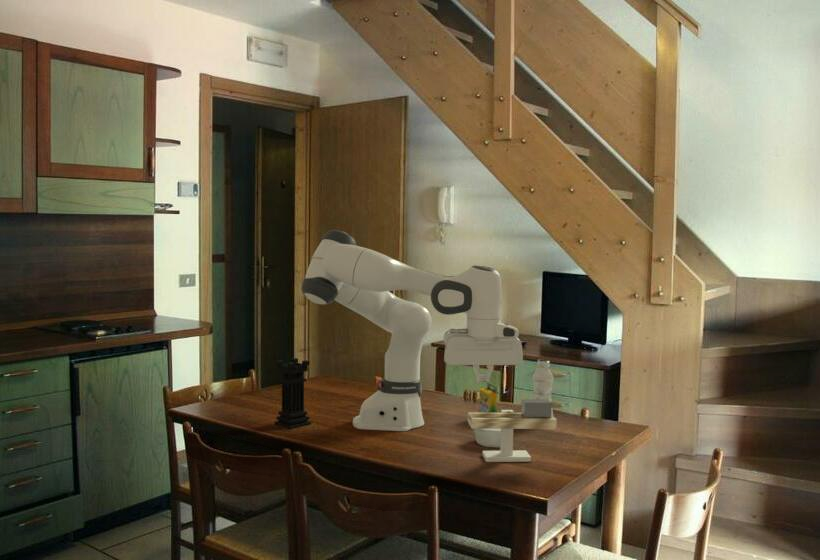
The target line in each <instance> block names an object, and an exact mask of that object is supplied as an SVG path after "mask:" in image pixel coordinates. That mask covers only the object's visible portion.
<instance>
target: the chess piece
mask: <svg viewBox="0 0 820 560" xmlns="http://www.w3.org/2000/svg"><path fill="white" fill-rule="evenodd" d="M310 362H311V361H310V360H301V362H299V358H297V357H292V358H290V362H287V363H285V361H284V360H281V359H279V360H276V366H278V367H277V369H278V372H279V373H280V372H281V378H280V379H279V381H280V382H281V410H279V411H278V416H276V417H275V418H276V421H274V425H276V426H278V425H279V427H283V428H285V427H286V428H285V429H288V428H289V430H294V429H298V428H301V427H306V426H309V425H311V426H312V421H310V416H307V415H308V411H306V410H305V382H306V381H307V379H306V378H305V372H308V370H309V369H308V366H310ZM297 427H298V428H297ZM293 428H294V429H293Z"/></svg>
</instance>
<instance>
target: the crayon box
mask: <svg viewBox="0 0 820 560" xmlns="http://www.w3.org/2000/svg"><path fill="white" fill-rule="evenodd" d="M486 384H487V385H486V386H487V387H486V388H480V389H479V413H498V387H497V386H496V385H493V384H492V383H489V382H486ZM492 388H493V389H492Z"/></svg>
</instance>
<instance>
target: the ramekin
mask: <svg viewBox="0 0 820 560" xmlns="http://www.w3.org/2000/svg"><path fill="white" fill-rule="evenodd" d="M474 436H475V441H476V443H477V444H478V445H480V446H482V447H487V448H500V443H501V429H474Z"/></svg>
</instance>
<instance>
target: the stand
mask: <svg viewBox="0 0 820 560" xmlns="http://www.w3.org/2000/svg"><path fill="white" fill-rule="evenodd" d="M500 411H501V412H500V413H506V412H508V411H510V412H512V413H515V412H514V410H513V409H501V410H500ZM499 448H500V449H499V450H482V457H483V459H484V461H485V462H486V463H501V462H502V463H505V462H507V463H514V462H516V463H518V462H519V463H521V462H527V463H528V462H532V456H531V455H530V453H528V451H527V450H524V449H523V450H520V449H519V450H514V429H501V443H500V447H499Z"/></svg>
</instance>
